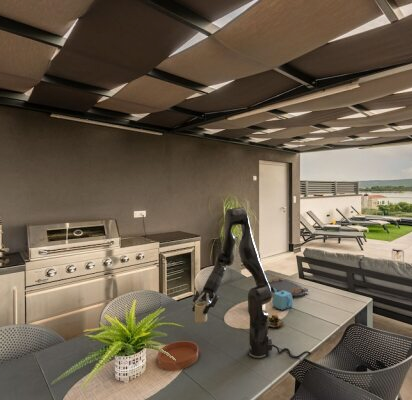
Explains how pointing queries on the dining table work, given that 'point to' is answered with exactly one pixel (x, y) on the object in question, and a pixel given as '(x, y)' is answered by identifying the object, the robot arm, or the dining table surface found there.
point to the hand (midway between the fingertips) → (198, 312)
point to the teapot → (282, 299)
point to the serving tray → (287, 287)
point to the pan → (178, 355)
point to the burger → (275, 321)
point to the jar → (200, 312)
